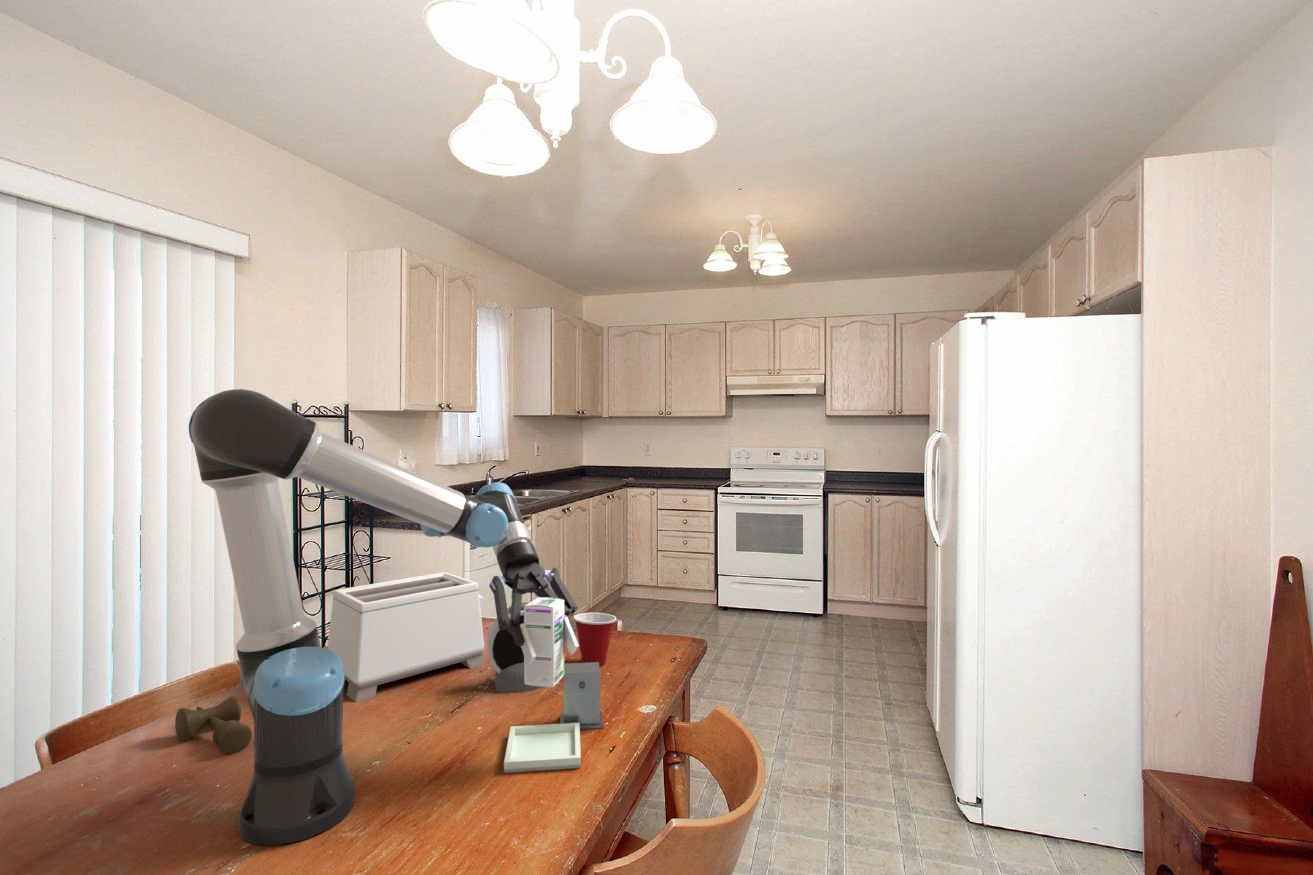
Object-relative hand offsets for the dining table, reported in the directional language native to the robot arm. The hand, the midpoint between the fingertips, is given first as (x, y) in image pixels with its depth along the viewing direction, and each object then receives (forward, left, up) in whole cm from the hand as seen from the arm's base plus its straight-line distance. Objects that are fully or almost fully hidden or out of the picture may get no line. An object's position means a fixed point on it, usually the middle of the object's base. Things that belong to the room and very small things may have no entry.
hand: (553, 655), depth 110 cm
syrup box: (-2, +3, -6) cm, 7 cm away
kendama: (-63, +16, -19) cm, 68 cm away
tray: (-2, +3, -19) cm, 19 cm away
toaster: (-35, +46, -19) cm, 61 cm away
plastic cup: (+9, +45, -19) cm, 49 cm away
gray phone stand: (+5, +13, -19) cm, 23 cm away
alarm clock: (-8, +35, -19) cm, 40 cm away
